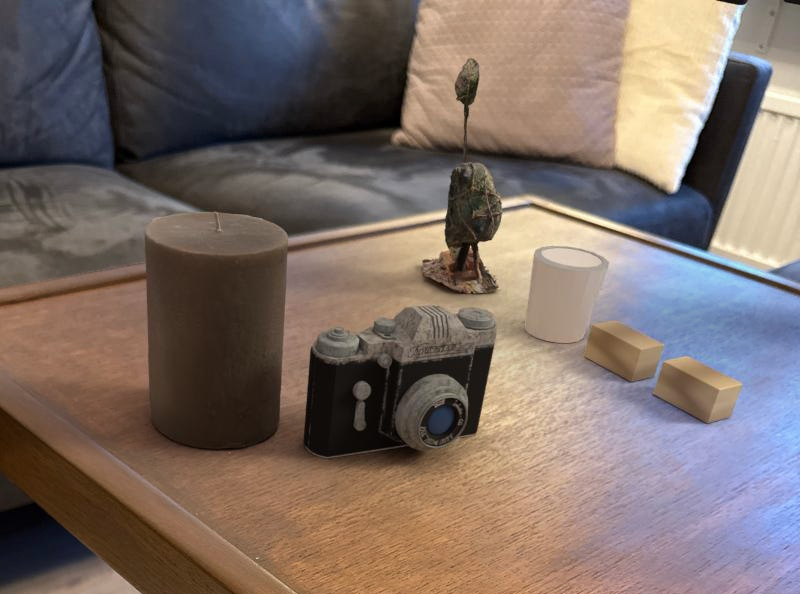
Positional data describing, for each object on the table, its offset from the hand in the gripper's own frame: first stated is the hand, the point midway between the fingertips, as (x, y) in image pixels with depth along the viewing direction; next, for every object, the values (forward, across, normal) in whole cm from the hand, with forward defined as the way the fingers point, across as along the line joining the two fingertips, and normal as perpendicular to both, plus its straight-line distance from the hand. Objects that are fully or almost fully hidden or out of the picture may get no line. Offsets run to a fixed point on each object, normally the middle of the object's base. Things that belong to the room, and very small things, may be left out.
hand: (764, 3), depth 89 cm
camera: (+26, -48, -16) cm, 57 cm away
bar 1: (+26, -21, -12) cm, 36 cm away
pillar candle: (+26, -59, -7) cm, 65 cm away
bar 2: (+26, -21, -20) cm, 39 cm away
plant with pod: (+26, -22, +10) cm, 36 cm away
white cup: (+26, -21, -4) cm, 34 cm away
